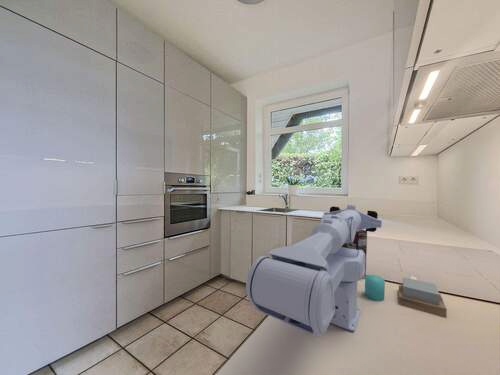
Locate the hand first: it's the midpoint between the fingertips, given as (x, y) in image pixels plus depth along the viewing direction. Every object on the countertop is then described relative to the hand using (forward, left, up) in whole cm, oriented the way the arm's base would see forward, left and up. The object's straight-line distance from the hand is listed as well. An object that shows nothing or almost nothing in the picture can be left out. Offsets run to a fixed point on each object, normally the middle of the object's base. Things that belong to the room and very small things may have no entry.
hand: (356, 215), depth 65 cm
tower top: (-1, -16, -19) cm, 25 cm away
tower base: (-1, -16, -22) cm, 27 cm away
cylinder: (-5, -6, -21) cm, 23 cm away
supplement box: (+7, +2, -21) cm, 22 cm away
